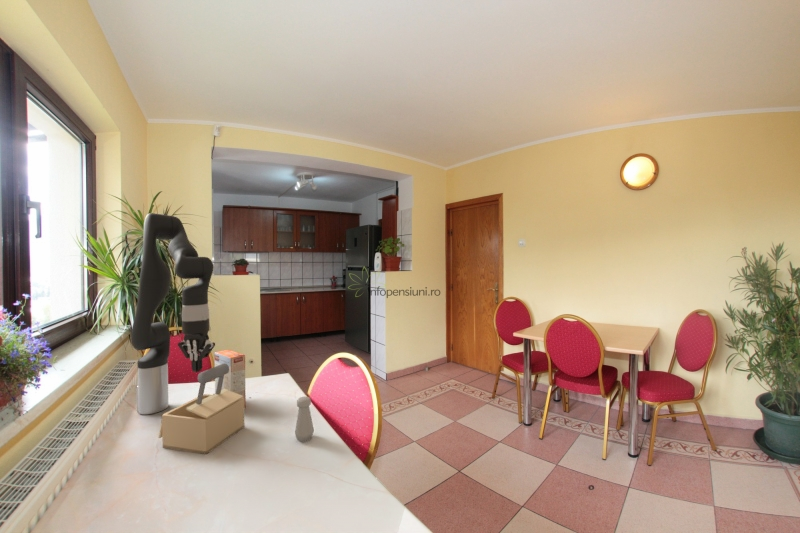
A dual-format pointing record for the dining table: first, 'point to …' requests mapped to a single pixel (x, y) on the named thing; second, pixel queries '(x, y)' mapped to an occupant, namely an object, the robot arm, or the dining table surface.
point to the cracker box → (232, 372)
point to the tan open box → (200, 427)
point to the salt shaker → (304, 420)
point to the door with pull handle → (219, 398)
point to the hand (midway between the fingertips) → (197, 371)
